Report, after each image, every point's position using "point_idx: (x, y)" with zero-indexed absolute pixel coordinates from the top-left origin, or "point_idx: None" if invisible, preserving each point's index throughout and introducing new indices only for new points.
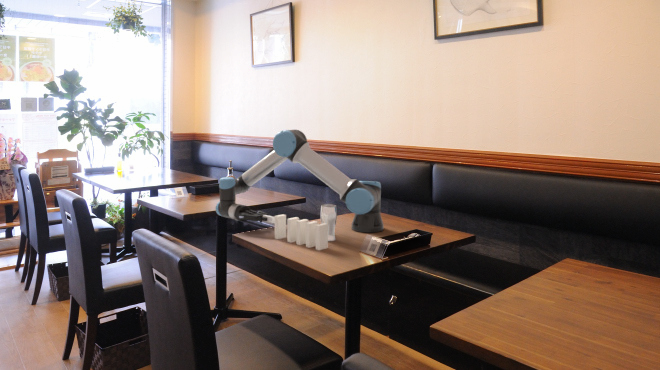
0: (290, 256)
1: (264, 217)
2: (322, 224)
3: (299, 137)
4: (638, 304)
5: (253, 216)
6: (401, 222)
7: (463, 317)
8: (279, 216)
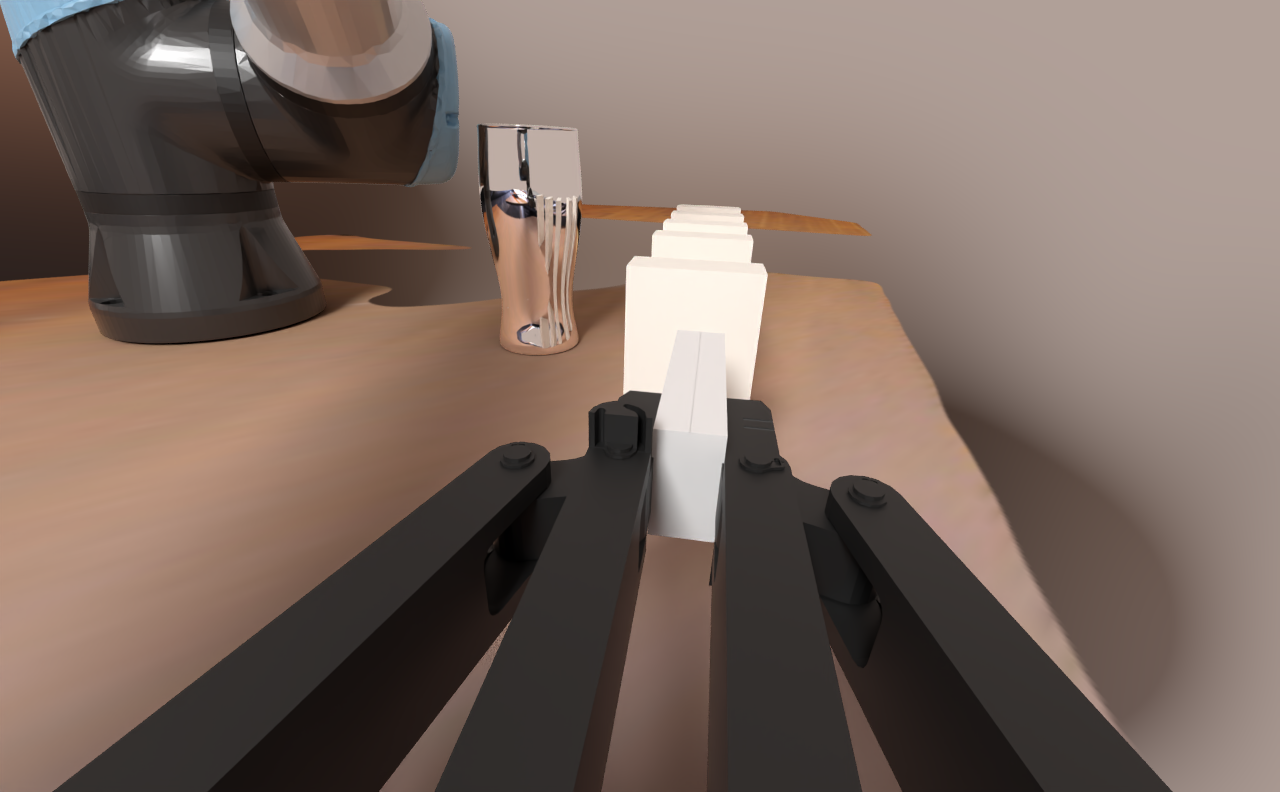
0: (893, 345)
1: (747, 422)
2: (707, 206)
3: None
4: (638, 207)
5: (946, 563)
6: (40, 287)
7: (818, 231)
8: (735, 263)
